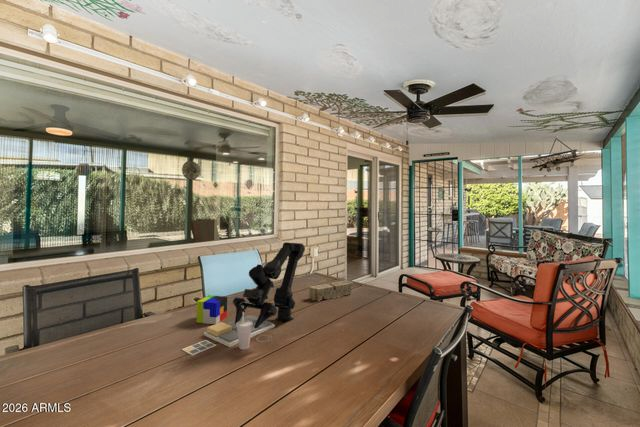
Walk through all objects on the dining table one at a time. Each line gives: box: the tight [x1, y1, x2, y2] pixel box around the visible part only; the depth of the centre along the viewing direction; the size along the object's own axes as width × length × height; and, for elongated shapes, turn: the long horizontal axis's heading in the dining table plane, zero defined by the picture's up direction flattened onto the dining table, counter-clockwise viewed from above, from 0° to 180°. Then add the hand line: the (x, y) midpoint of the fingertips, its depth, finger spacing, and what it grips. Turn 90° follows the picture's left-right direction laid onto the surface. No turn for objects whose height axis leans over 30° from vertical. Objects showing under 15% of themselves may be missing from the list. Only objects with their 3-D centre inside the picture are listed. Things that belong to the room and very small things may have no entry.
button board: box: [203, 314, 276, 348], centre depth 130 cm, size 25×17×2 cm
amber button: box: [206, 321, 232, 337], centre depth 126 cm, size 7×7×2 cm
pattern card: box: [181, 339, 217, 357], centre depth 114 cm, size 10×7×1 cm
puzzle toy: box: [196, 294, 228, 325], centre depth 142 cm, size 10×10×10 cm
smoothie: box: [236, 312, 253, 351], centre depth 115 cm, size 6×6×14 cm
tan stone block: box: [308, 280, 354, 302], centre depth 184 cm, size 8×8×29 cm
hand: (245, 325), depth 116 cm, fingers open, 9 cm apart
